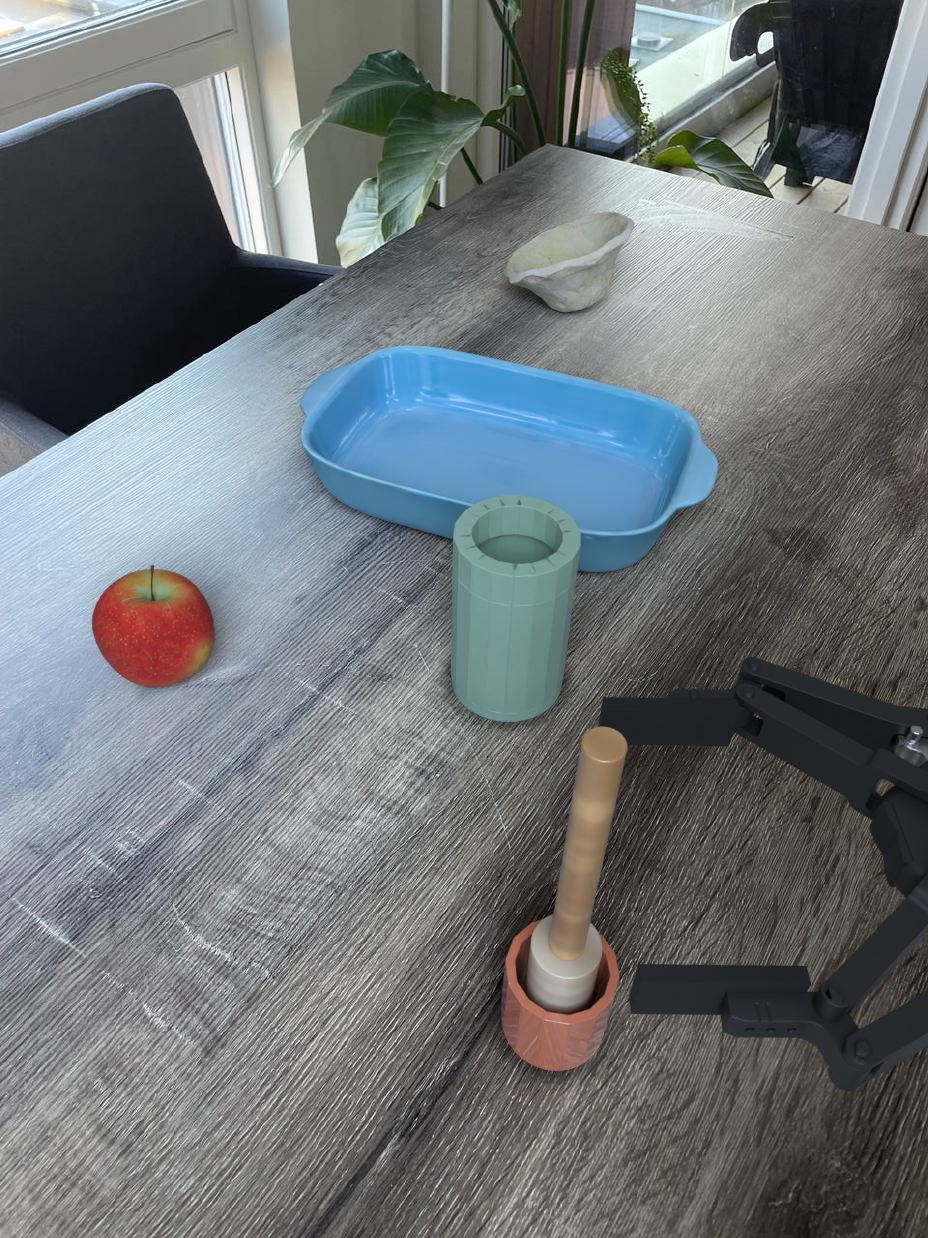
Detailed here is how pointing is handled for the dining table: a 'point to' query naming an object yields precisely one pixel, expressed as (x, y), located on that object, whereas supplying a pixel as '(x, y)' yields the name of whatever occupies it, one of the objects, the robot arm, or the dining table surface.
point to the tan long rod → (578, 883)
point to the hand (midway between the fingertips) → (614, 840)
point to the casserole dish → (503, 446)
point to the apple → (154, 627)
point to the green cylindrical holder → (512, 605)
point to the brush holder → (553, 1034)
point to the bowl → (571, 260)
